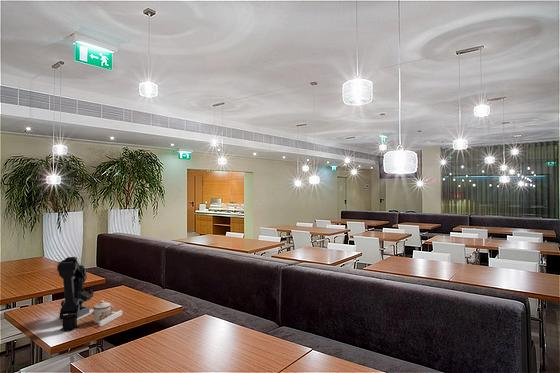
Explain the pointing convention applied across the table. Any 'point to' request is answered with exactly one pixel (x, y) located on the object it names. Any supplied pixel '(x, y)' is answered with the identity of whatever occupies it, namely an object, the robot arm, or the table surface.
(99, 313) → the teacup with lid
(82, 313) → the grey open storage bin
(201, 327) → the table surface
